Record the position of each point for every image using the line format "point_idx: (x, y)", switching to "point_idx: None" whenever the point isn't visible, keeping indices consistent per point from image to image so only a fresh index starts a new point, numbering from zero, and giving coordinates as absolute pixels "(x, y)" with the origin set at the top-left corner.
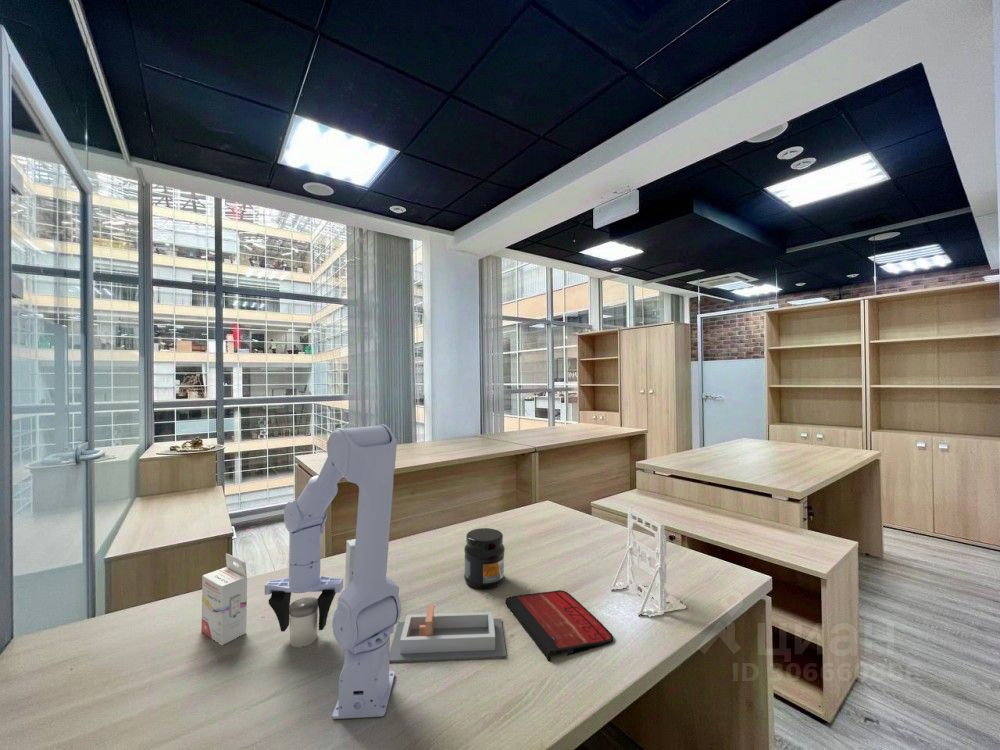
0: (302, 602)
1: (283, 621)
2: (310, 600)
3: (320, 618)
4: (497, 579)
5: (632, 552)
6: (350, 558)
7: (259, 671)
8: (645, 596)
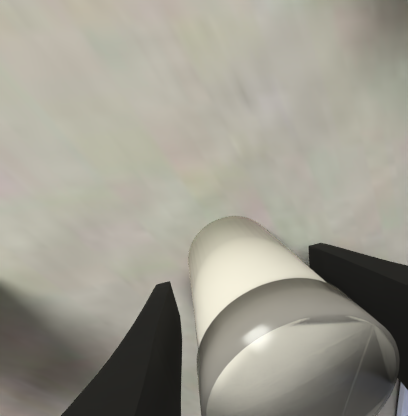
0: (282, 387)
1: (180, 365)
2: (331, 350)
3: None
4: None
5: None
6: None
7: (193, 383)
8: None
